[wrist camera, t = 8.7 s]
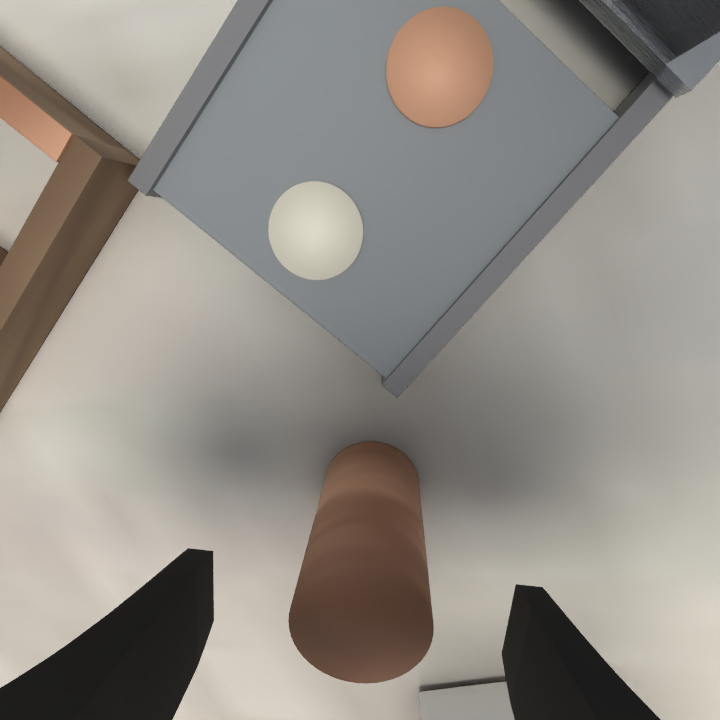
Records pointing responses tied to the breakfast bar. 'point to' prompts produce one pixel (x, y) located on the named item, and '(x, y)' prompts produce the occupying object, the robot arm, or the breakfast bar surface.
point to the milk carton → (467, 703)
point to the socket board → (54, 214)
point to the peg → (365, 570)
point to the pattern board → (384, 159)
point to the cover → (666, 36)
